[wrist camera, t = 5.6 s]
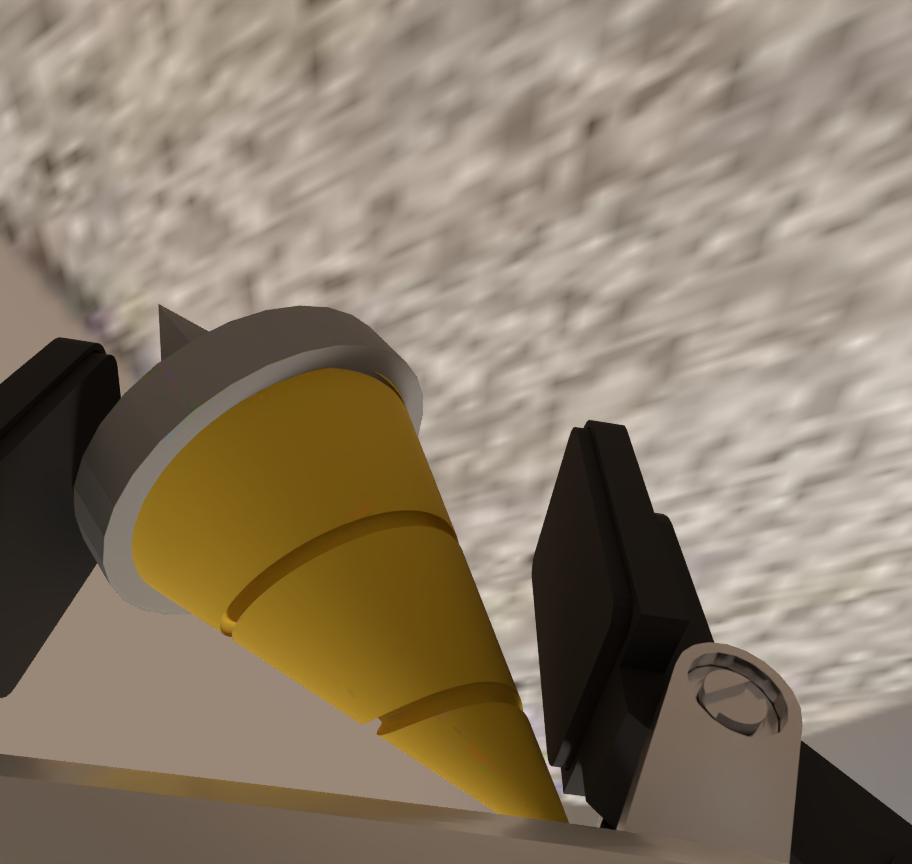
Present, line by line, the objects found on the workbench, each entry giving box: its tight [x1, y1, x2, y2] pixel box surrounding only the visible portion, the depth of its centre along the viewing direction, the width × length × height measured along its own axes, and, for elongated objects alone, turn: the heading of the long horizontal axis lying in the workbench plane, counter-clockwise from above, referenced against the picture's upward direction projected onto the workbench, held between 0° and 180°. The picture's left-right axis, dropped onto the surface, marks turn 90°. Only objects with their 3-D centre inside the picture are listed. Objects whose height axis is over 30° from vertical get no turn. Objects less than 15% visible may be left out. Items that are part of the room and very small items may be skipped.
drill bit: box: [74, 305, 569, 823], centre depth 10 cm, size 5×5×10 cm
